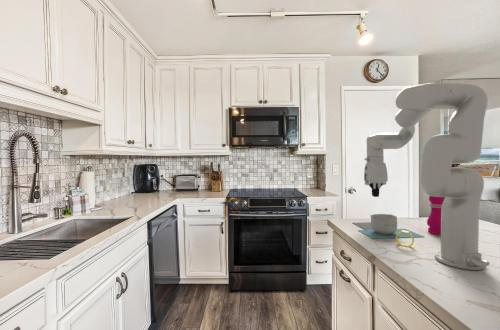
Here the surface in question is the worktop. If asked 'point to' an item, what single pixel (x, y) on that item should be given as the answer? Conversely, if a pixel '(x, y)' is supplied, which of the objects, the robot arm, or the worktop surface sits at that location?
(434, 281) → the worktop surface
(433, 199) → the pepper mill
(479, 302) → the worktop surface
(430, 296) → the worktop surface
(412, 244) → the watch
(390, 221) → the teacup
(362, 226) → the t mat
